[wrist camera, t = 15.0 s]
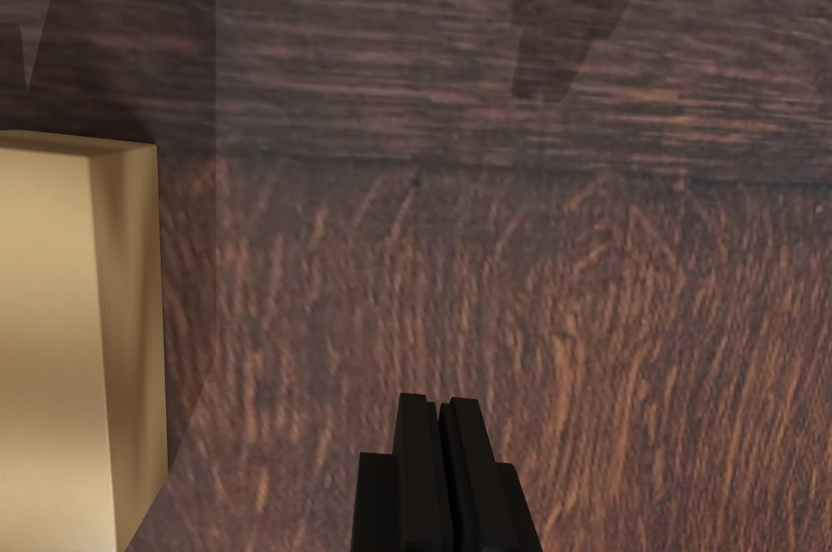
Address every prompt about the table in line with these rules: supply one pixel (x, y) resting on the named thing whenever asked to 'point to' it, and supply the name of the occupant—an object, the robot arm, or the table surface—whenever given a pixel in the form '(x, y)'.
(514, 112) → the table surface
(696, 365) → the table surface
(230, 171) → the table surface
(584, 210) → the table surface
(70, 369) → the brass block
